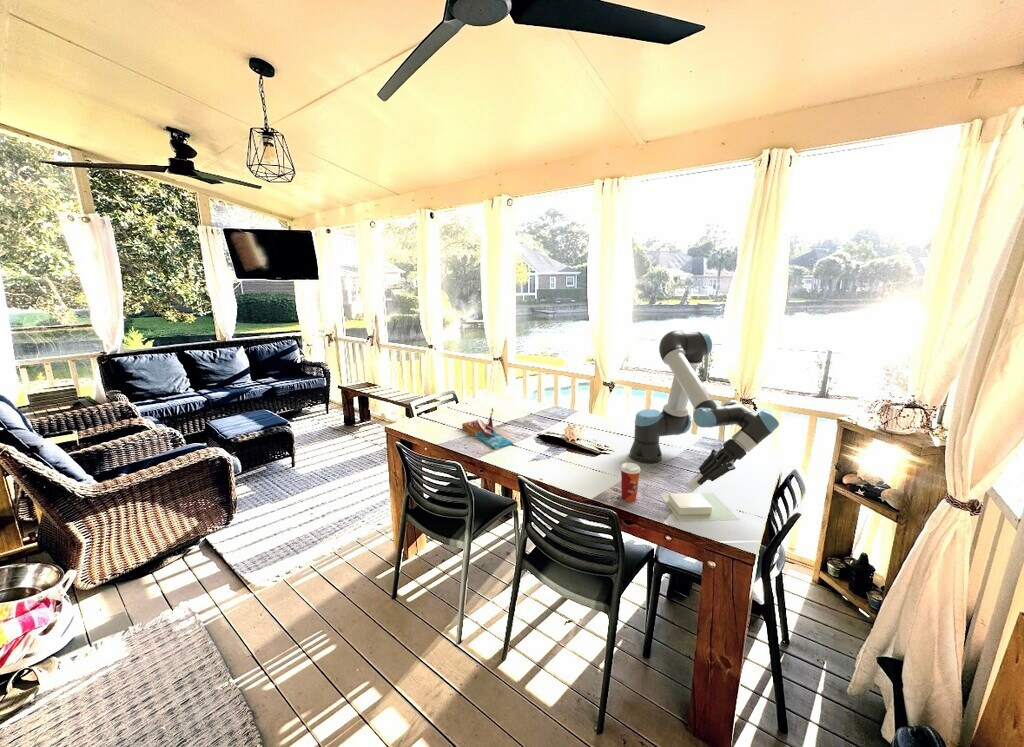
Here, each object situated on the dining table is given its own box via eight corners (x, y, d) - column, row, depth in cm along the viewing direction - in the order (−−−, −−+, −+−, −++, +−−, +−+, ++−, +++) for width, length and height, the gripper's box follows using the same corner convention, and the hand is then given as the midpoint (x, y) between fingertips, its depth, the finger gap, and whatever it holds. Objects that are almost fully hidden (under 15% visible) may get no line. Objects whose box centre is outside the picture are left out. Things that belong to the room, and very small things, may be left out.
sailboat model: (494, 450, 209) (494, 419, 206) (462, 430, 239) (461, 403, 236) (513, 446, 216) (513, 415, 212) (479, 427, 246) (479, 400, 243)
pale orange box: (698, 500, 157) (668, 501, 157) (699, 492, 156) (668, 493, 156) (711, 514, 147) (679, 515, 147) (712, 506, 147) (679, 507, 147)
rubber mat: (659, 495, 162) (659, 493, 162) (712, 494, 163) (712, 492, 163) (679, 522, 144) (679, 521, 144) (739, 521, 144) (739, 519, 144)
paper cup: (633, 505, 155) (635, 472, 152) (615, 498, 160) (617, 466, 157) (642, 497, 161) (644, 465, 158) (624, 491, 166) (626, 460, 163)
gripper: (756, 459, 141) (705, 503, 145) (735, 445, 154) (688, 485, 157) (743, 446, 140) (691, 490, 143) (723, 432, 153) (676, 473, 156)
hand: (690, 487), depth 150 cm, fingers closed
